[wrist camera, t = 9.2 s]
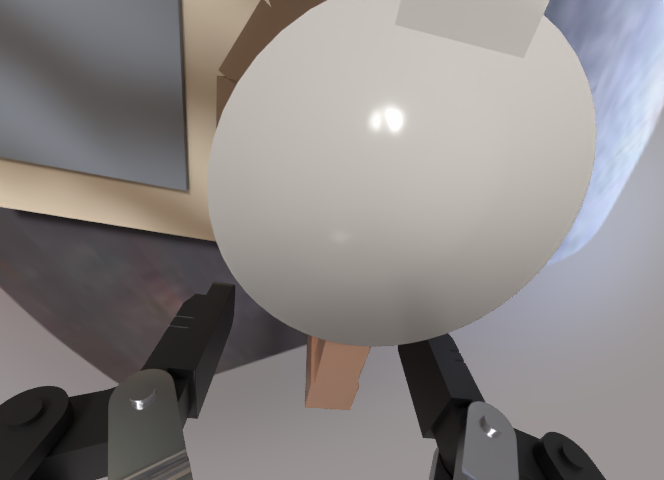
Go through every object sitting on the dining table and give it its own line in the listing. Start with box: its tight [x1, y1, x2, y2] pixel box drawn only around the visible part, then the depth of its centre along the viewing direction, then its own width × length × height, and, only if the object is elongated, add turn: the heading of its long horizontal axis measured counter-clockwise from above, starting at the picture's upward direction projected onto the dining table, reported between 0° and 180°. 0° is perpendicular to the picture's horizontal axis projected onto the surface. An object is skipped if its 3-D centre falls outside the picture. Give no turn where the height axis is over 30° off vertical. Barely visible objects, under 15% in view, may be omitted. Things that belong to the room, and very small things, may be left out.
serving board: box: [0, 0, 327, 241], centre depth 11 cm, size 17×24×5 cm
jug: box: [207, 0, 597, 410], centre depth 10 cm, size 11×6×10 cm, turn 169°
